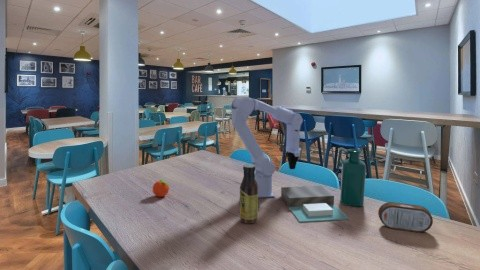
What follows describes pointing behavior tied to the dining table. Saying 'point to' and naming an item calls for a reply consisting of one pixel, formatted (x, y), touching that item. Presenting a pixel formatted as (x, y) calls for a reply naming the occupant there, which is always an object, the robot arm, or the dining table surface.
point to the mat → (303, 217)
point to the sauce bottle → (249, 195)
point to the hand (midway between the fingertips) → (292, 168)
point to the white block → (317, 209)
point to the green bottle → (352, 179)
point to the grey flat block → (306, 195)
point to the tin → (405, 217)
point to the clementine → (160, 188)
